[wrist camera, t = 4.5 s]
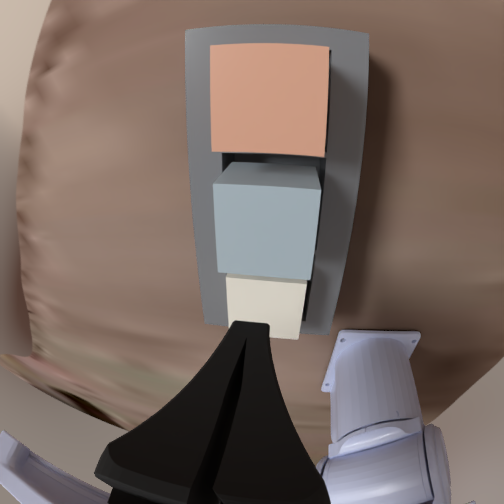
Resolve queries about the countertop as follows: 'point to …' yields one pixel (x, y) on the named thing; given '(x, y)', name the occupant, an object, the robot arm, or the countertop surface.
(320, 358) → the countertop surface
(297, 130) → the key terracotta
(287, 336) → the key ivory
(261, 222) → the key slate
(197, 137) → the grey slotted frame
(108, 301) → the countertop surface
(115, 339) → the countertop surface
